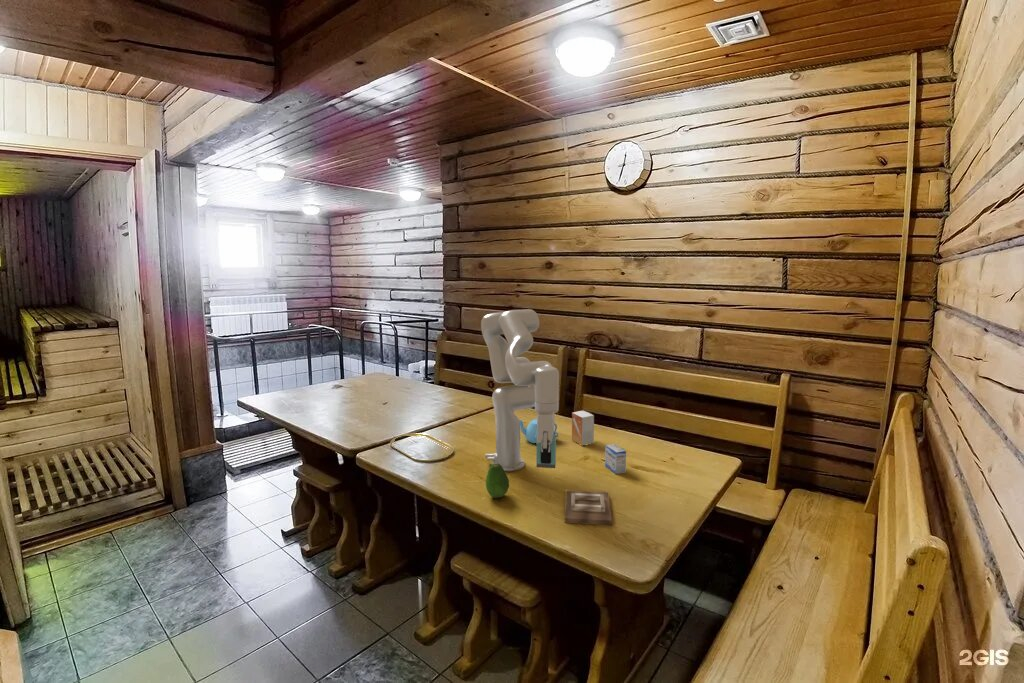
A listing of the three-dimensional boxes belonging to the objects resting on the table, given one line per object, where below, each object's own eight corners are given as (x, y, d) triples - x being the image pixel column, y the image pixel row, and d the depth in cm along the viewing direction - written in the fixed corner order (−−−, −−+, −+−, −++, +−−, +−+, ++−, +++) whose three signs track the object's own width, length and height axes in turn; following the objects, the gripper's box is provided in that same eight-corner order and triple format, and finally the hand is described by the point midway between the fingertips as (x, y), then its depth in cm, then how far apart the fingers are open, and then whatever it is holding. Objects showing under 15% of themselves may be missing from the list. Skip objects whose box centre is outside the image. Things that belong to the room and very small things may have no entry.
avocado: (481, 497, 164) (480, 463, 162) (498, 489, 169) (497, 456, 167) (497, 505, 158) (496, 470, 156) (514, 496, 164) (513, 463, 162)
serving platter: (419, 433, 227) (419, 430, 227) (462, 454, 201) (462, 451, 201) (382, 443, 215) (382, 440, 215) (423, 467, 189) (423, 463, 189)
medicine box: (604, 466, 186) (604, 445, 185) (614, 464, 188) (615, 443, 187) (615, 474, 179) (616, 452, 178) (626, 472, 181) (626, 450, 179)
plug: (536, 467, 154) (536, 440, 153) (537, 461, 158) (537, 435, 156) (555, 468, 153) (555, 441, 152) (555, 462, 157) (556, 436, 156)
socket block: (565, 522, 147) (565, 513, 146) (566, 494, 164) (566, 486, 164) (611, 525, 145) (612, 515, 144) (608, 496, 163) (608, 487, 162)
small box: (571, 440, 214) (571, 412, 212) (583, 438, 216) (583, 410, 214) (581, 446, 207) (582, 417, 204) (594, 443, 209) (594, 415, 207)
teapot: (563, 440, 214) (563, 418, 212) (537, 449, 204) (537, 426, 203) (540, 432, 225) (540, 411, 223) (515, 439, 216) (515, 417, 214)
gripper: (536, 397, 161) (536, 448, 164) (532, 414, 144) (532, 471, 148) (559, 398, 160) (558, 450, 163) (557, 415, 143) (556, 472, 147)
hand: (546, 459), depth 155 cm, fingers closed on plug, 4 cm apart
